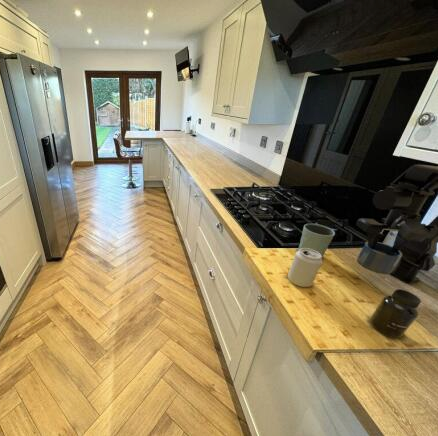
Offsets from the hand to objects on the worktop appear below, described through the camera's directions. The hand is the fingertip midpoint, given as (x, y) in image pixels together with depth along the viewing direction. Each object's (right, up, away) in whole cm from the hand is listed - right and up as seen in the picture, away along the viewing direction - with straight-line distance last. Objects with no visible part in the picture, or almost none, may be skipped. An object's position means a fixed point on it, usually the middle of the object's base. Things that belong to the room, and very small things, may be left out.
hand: (381, 250), depth 78 cm
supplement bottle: (-12, -20, -13) cm, 27 cm away
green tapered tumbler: (-11, -4, +19) cm, 23 cm away
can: (-25, -11, +4) cm, 28 cm away
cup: (0, -6, +3) cm, 6 cm away
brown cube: (0, -5, +2) cm, 6 cm away
